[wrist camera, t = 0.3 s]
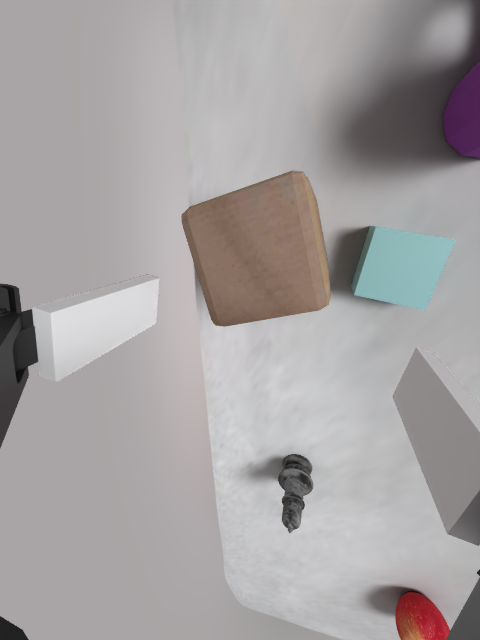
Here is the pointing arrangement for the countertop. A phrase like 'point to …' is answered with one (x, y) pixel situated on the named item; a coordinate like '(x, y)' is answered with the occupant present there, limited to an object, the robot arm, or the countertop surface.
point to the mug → (464, 115)
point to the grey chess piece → (294, 488)
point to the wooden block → (260, 251)
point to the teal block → (400, 266)
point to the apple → (419, 619)
